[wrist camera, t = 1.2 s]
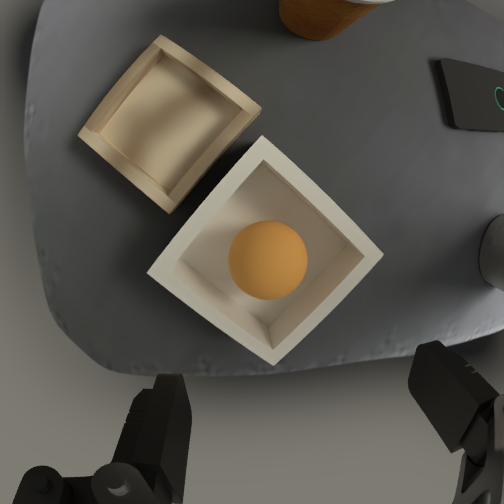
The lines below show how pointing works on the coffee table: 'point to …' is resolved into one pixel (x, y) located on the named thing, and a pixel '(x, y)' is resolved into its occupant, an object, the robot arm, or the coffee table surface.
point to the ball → (267, 260)
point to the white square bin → (251, 211)
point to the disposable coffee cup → (323, 15)
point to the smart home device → (472, 95)
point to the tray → (168, 122)
